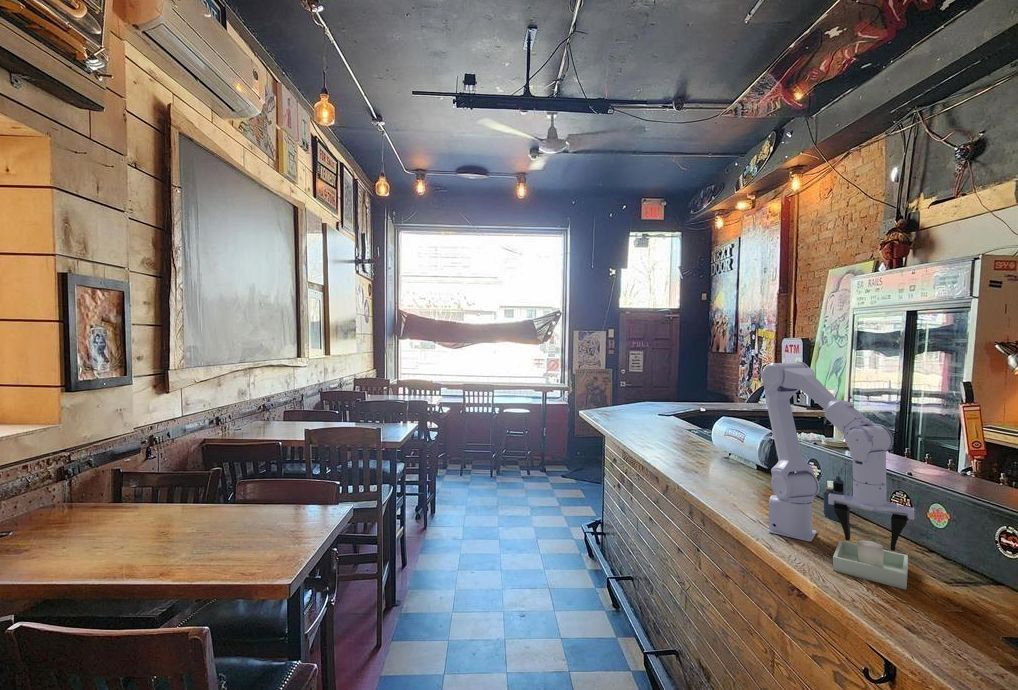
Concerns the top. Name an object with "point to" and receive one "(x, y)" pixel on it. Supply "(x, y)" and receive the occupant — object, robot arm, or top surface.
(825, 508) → the vaping device
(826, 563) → the top surface
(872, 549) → the white rounded cylinder
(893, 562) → the bus tub
